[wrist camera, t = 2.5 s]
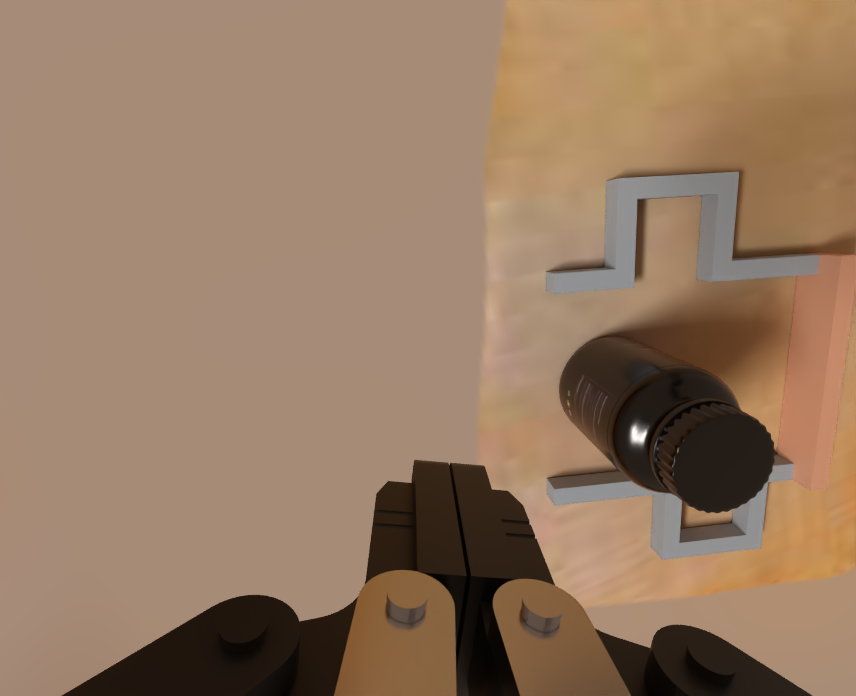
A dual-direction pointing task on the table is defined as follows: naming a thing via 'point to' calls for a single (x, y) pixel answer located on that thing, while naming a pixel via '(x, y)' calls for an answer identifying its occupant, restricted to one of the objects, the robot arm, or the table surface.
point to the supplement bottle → (666, 424)
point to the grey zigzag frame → (806, 370)
